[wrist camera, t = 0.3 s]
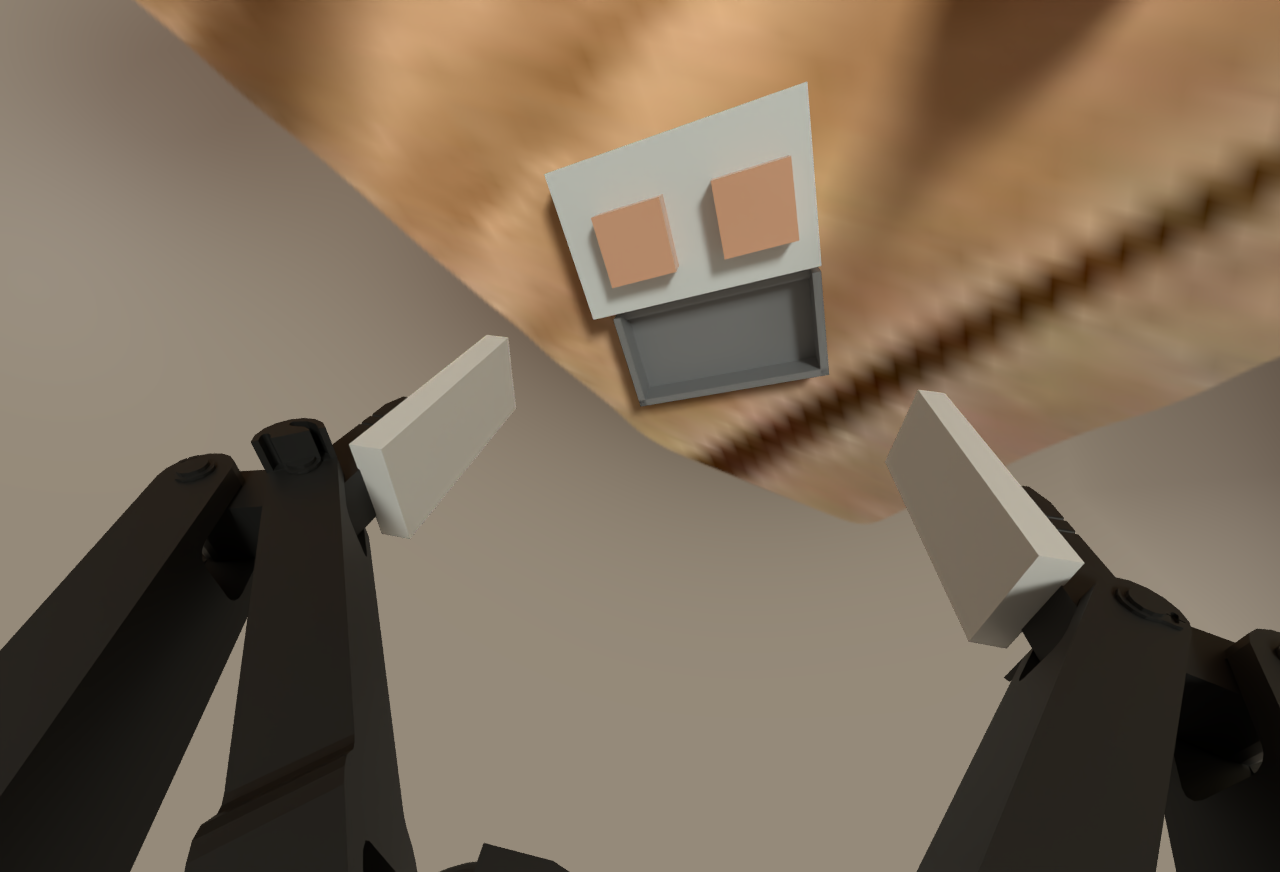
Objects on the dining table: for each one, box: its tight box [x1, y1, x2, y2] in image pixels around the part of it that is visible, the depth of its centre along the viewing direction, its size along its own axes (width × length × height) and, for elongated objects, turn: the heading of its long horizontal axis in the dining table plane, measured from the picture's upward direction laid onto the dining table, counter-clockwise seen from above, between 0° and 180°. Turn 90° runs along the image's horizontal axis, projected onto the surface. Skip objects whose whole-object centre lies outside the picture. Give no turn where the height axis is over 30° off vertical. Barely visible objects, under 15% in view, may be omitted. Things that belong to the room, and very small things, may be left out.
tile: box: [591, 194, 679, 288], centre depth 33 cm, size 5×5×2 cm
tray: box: [613, 267, 829, 406], centre depth 39 cm, size 8×16×3 cm, turn 106°
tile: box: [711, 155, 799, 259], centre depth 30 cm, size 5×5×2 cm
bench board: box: [544, 82, 821, 320], centre depth 34 cm, size 11×18×4 cm, turn 106°
